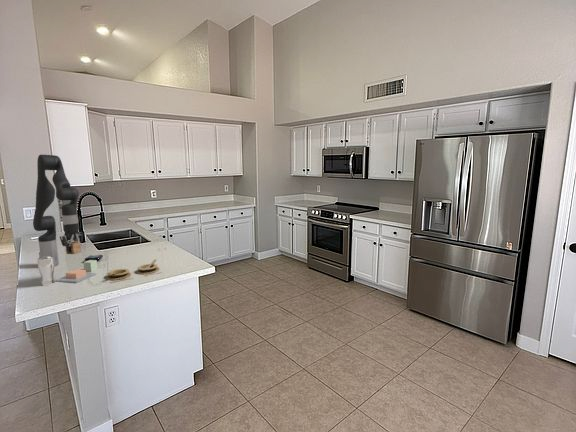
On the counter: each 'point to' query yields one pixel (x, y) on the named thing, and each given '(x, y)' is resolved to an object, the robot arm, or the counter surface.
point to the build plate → (75, 276)
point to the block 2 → (90, 265)
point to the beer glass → (46, 270)
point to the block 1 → (75, 248)
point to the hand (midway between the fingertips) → (73, 251)
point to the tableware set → (125, 273)
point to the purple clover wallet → (93, 257)
